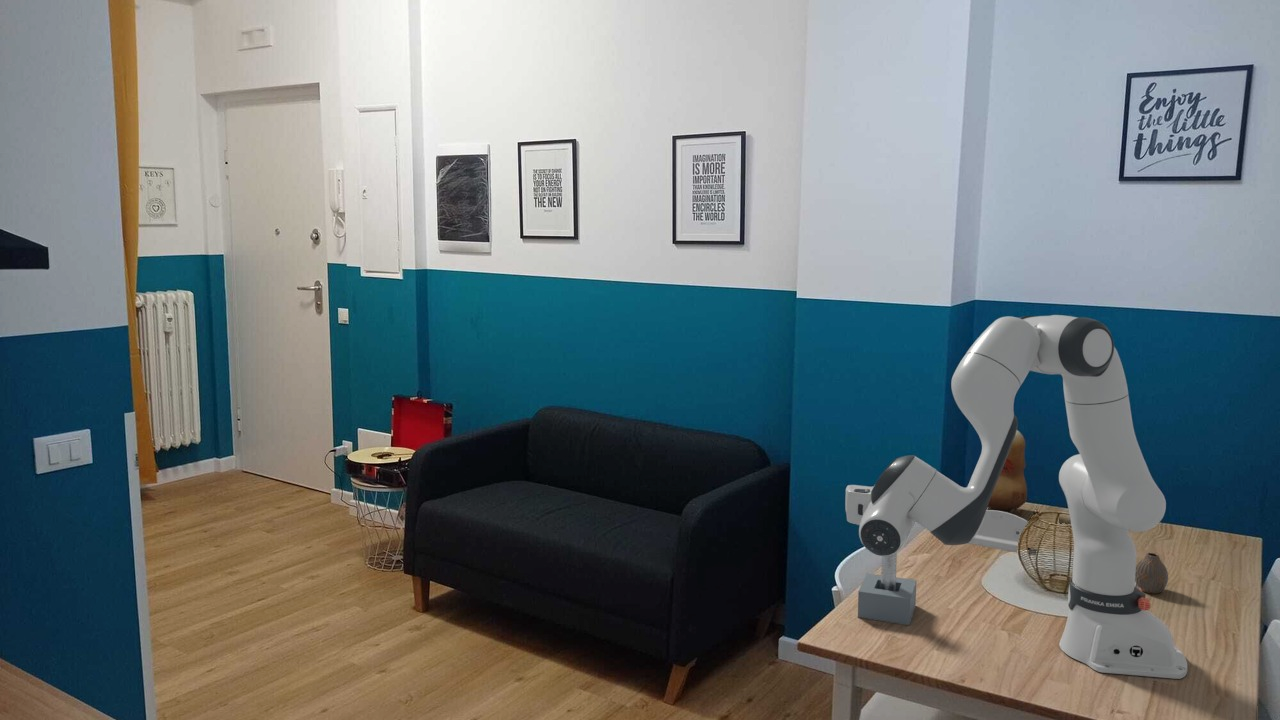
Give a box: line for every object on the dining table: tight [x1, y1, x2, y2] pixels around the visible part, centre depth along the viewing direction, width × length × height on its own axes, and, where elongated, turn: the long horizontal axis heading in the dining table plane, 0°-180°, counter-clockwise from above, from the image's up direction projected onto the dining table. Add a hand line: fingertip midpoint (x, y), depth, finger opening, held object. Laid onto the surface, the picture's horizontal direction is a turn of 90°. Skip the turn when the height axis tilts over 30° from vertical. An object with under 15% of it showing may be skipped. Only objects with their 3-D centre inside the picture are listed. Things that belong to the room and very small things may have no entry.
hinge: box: [967, 509, 1029, 553], centre depth 244 cm, size 17×5×10 cm, turn 56°
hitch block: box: [857, 573, 917, 626], centre depth 203 cm, size 11×11×6 cm
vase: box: [1135, 552, 1169, 595], centre depth 212 cm, size 7×7×9 cm
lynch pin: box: [880, 552, 898, 591], centre depth 202 cm, size 5×5×16 cm
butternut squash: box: [987, 429, 1028, 513], centre depth 269 cm, size 14×13×25 cm
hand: (902, 491), depth 185 cm, fingers open, 8 cm apart
